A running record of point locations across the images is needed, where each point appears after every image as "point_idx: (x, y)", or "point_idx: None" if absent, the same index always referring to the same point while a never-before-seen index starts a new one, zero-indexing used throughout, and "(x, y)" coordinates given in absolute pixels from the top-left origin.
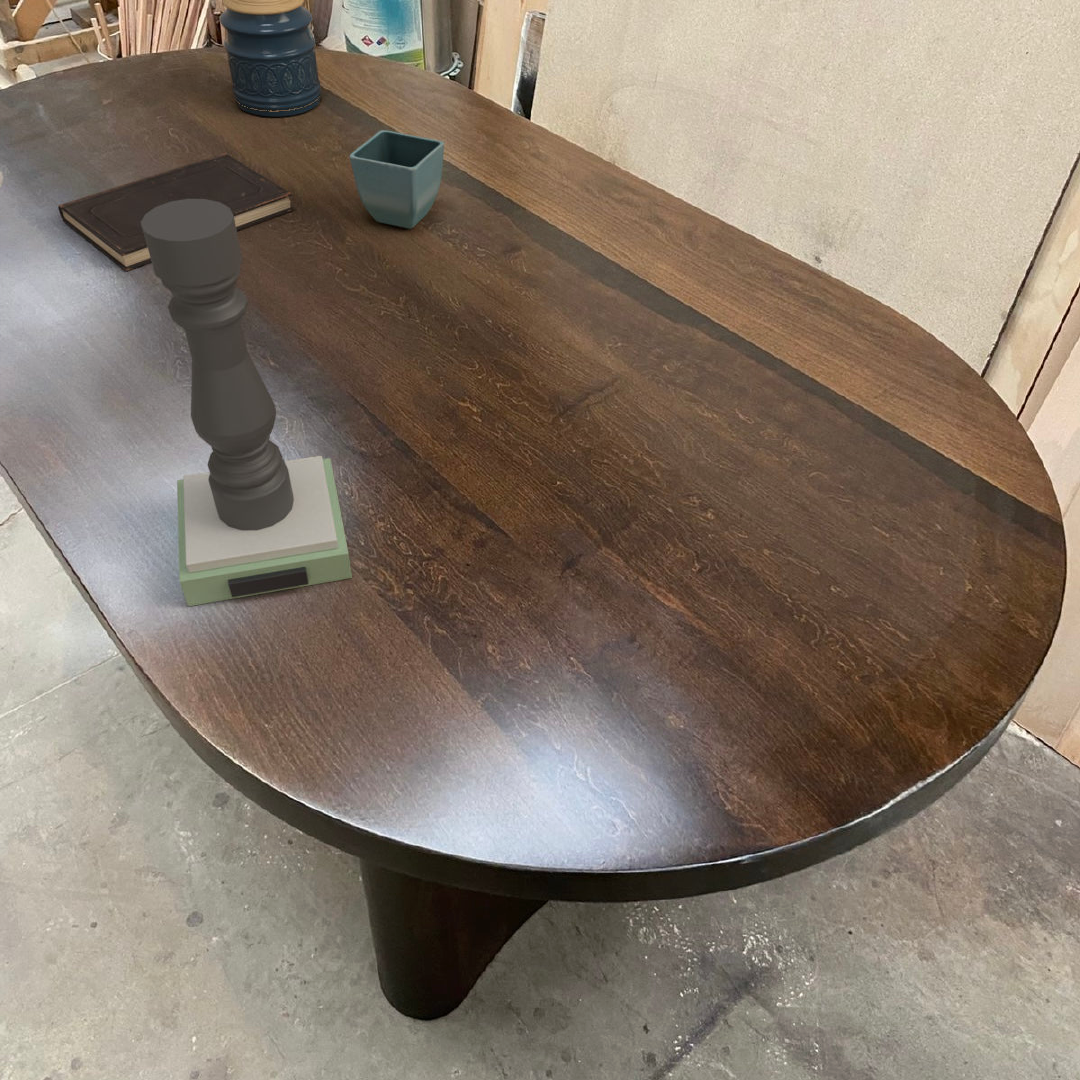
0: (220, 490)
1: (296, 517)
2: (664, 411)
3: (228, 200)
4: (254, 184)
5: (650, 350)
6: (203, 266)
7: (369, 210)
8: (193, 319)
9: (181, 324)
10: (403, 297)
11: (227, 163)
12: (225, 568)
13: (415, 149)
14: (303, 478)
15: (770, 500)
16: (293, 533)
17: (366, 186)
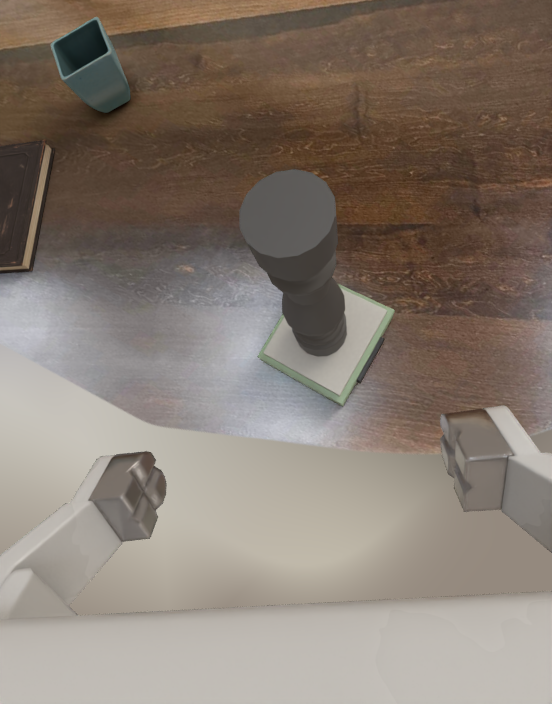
0: (322, 346)
1: (350, 318)
2: (404, 81)
3: (20, 177)
4: (17, 154)
5: (348, 52)
6: (334, 239)
7: (99, 109)
8: (320, 282)
9: (311, 293)
10: (187, 144)
11: None
12: (352, 376)
13: (83, 39)
14: None
15: (519, 81)
16: (362, 327)
17: (88, 93)
